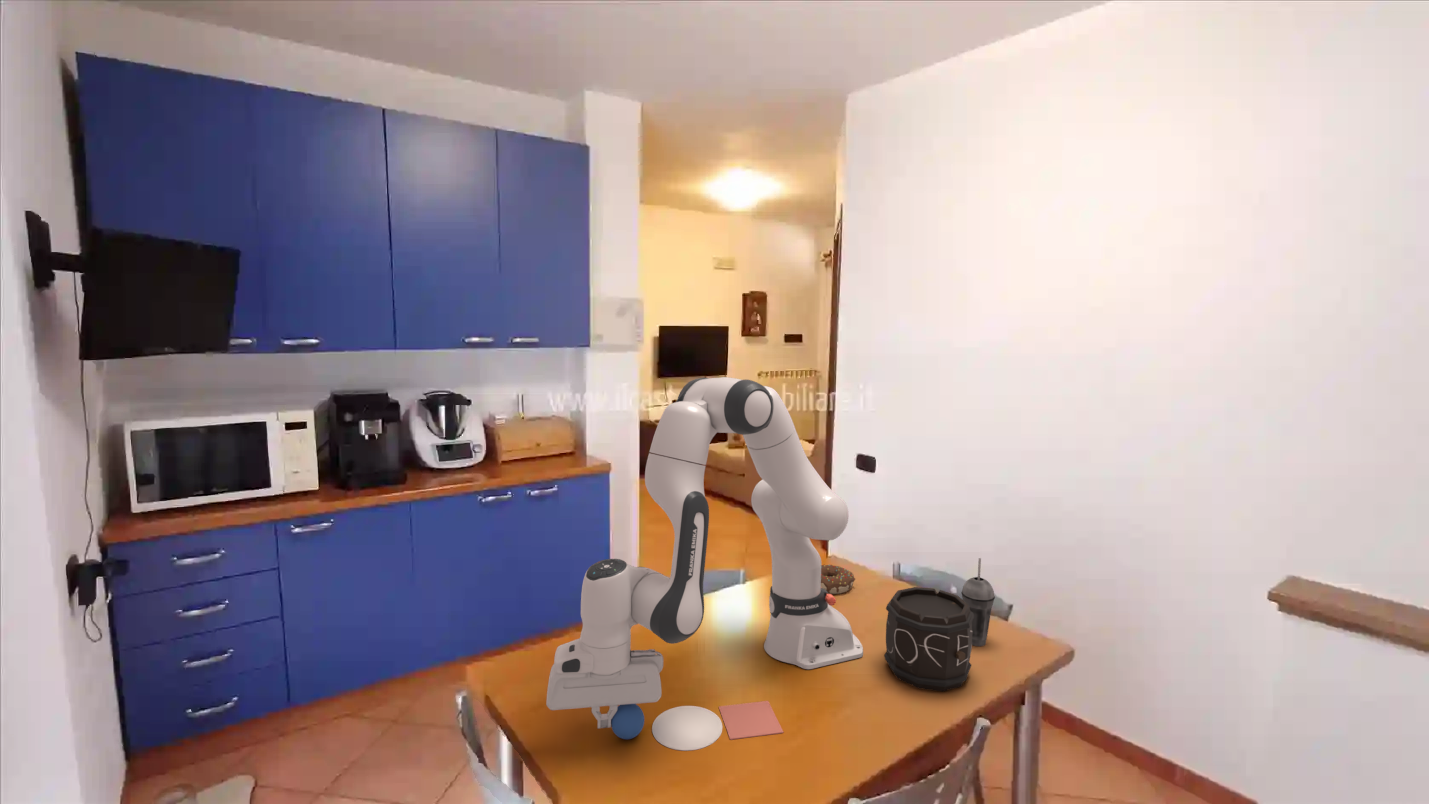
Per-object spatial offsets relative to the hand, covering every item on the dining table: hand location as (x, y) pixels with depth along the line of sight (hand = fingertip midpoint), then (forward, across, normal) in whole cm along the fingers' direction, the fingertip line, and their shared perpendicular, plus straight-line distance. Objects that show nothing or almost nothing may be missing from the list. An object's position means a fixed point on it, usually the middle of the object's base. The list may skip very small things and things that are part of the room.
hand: (604, 726), depth 115 cm
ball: (-1, -4, 0) cm, 4 cm away
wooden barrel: (0, -69, -10) cm, 70 cm away
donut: (0, -65, -57) cm, 87 cm away
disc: (+2, -15, 0) cm, 15 cm away
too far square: (+2, -27, 0) cm, 27 cm away
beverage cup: (0, -87, -20) cm, 89 cm away
